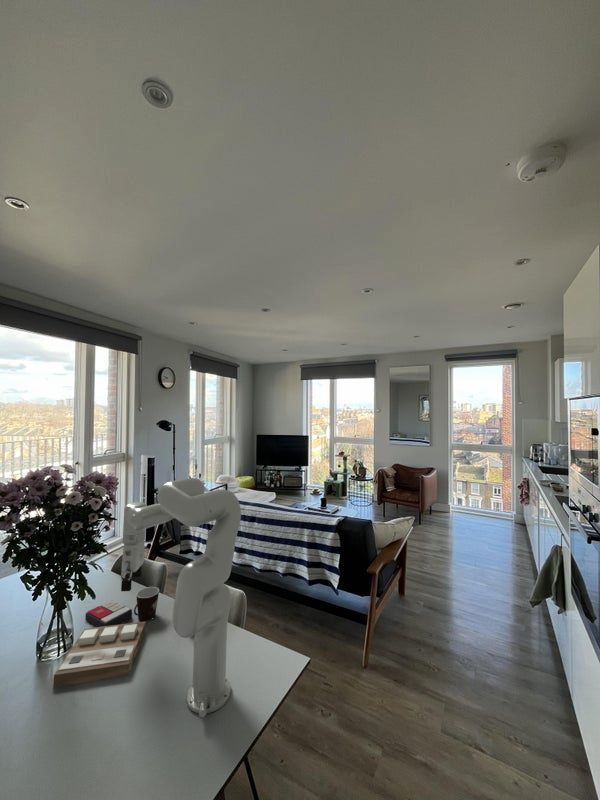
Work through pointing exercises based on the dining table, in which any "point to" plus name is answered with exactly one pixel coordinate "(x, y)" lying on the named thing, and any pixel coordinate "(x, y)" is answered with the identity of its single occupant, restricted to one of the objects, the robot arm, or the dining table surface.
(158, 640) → the dining table surface
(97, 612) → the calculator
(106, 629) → the button
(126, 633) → the button
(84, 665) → the board
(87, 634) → the button
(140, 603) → the coffee mug
